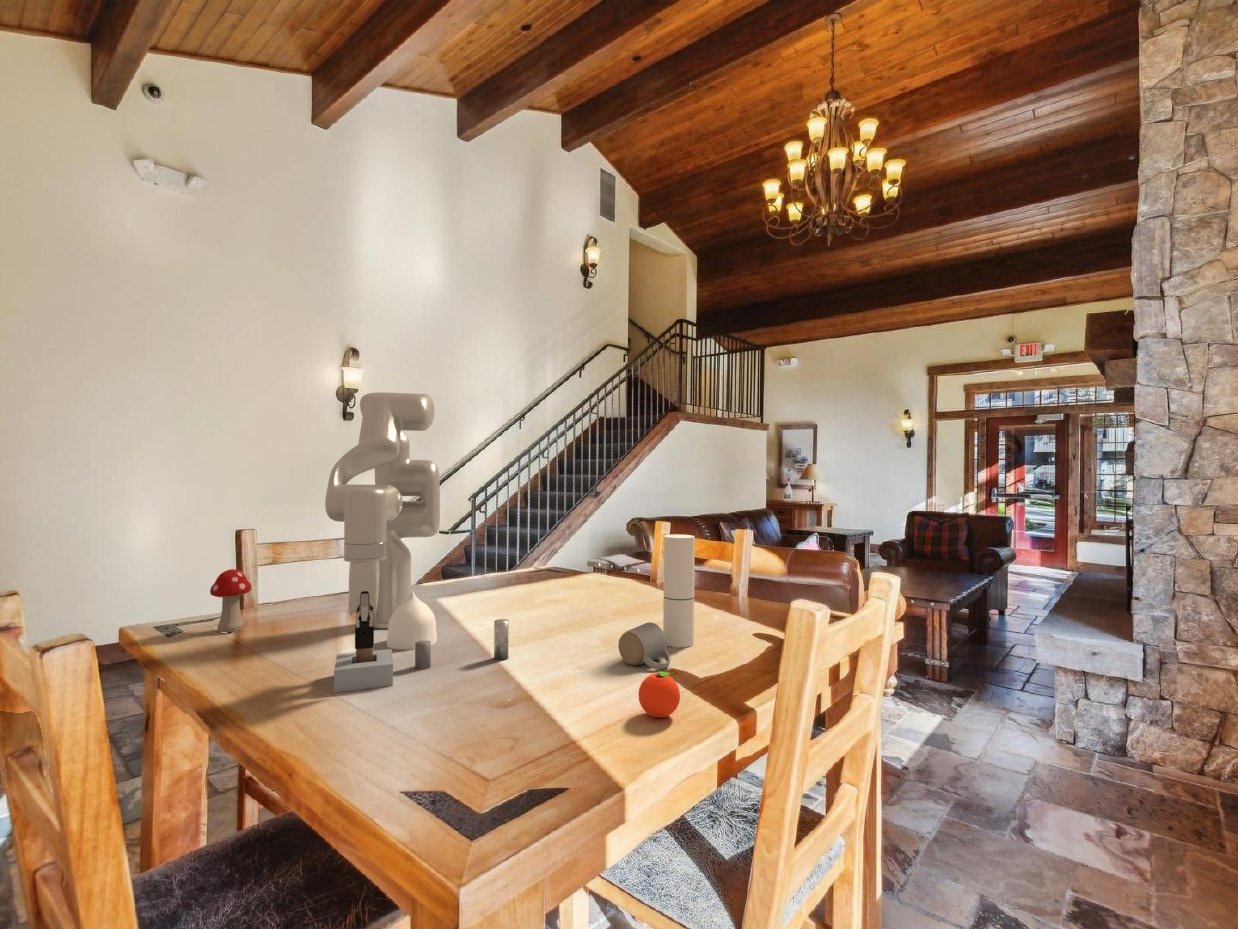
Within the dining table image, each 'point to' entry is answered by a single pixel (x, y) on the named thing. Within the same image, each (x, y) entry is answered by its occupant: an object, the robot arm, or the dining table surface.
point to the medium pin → (501, 639)
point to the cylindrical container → (679, 590)
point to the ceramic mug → (644, 646)
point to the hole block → (363, 671)
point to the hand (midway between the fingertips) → (364, 641)
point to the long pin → (364, 652)
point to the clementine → (659, 694)
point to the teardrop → (411, 624)
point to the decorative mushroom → (230, 598)
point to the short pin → (423, 654)
